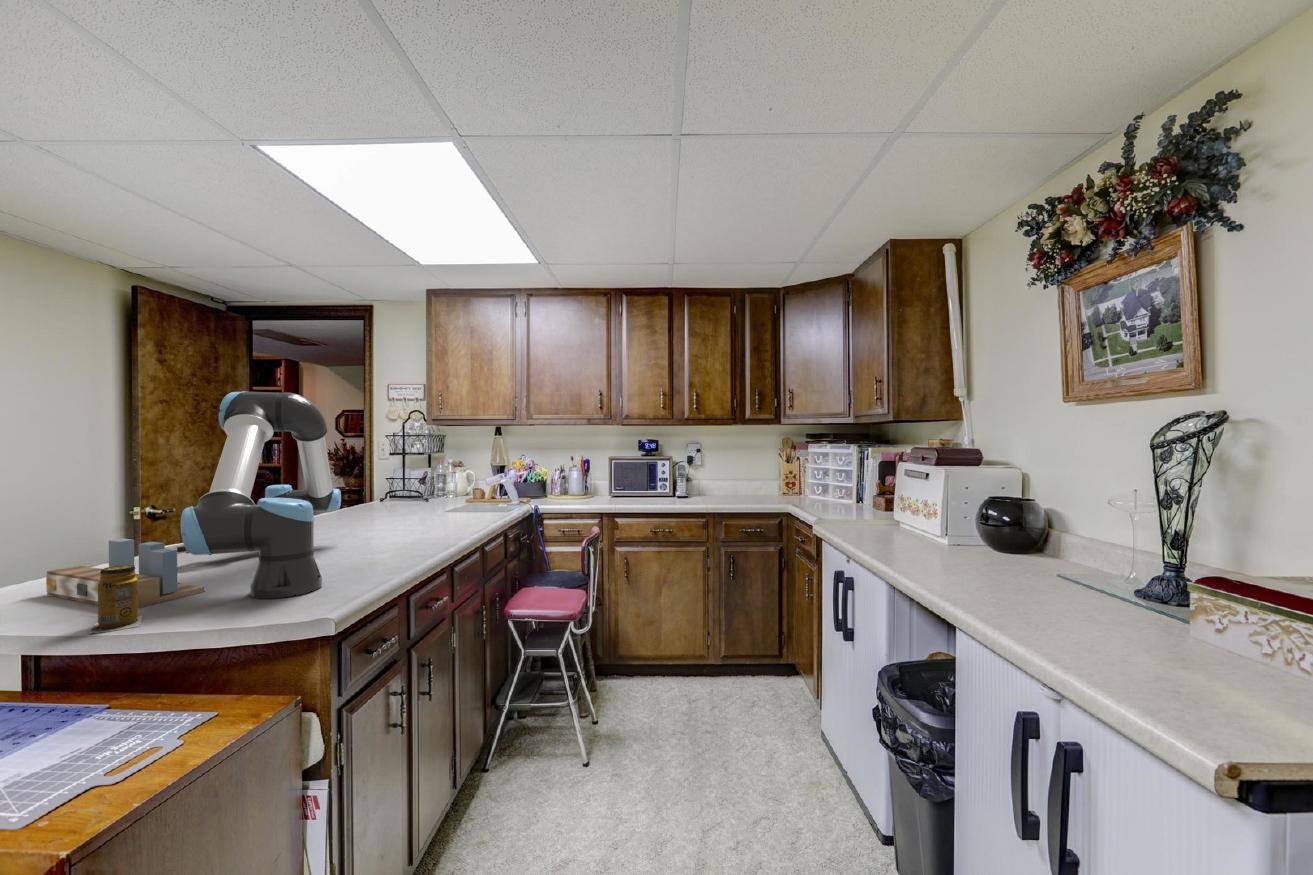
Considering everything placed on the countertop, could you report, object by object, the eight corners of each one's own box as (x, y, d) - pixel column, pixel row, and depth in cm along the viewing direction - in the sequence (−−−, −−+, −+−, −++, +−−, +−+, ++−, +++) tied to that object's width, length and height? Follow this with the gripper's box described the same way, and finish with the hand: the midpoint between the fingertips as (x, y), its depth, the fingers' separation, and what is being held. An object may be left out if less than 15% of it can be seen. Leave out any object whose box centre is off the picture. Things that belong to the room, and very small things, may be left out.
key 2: (177, 590, 134) (177, 550, 134) (162, 594, 132) (162, 552, 132) (164, 588, 136) (164, 548, 136) (149, 592, 133) (149, 551, 133)
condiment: (142, 616, 121) (141, 561, 121) (138, 626, 114) (138, 569, 114) (95, 623, 116) (94, 567, 116) (88, 635, 110) (87, 575, 109)
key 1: (134, 576, 148) (134, 539, 147) (120, 579, 145) (119, 541, 145) (123, 575, 149) (122, 538, 149) (109, 577, 146) (108, 540, 146)
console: (204, 591, 139) (204, 567, 139) (123, 611, 124) (123, 584, 124) (125, 579, 151) (125, 557, 150) (42, 596, 135) (42, 571, 135)
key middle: (165, 581, 143) (164, 542, 143) (151, 584, 140) (150, 545, 140) (153, 579, 145) (152, 541, 145) (139, 582, 142) (138, 543, 142)
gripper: (262, 549, 175) (176, 566, 153) (235, 546, 180) (147, 563, 158) (262, 526, 175) (176, 540, 153) (235, 523, 180) (147, 536, 158)
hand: (161, 551), depth 155 cm, fingers closed
